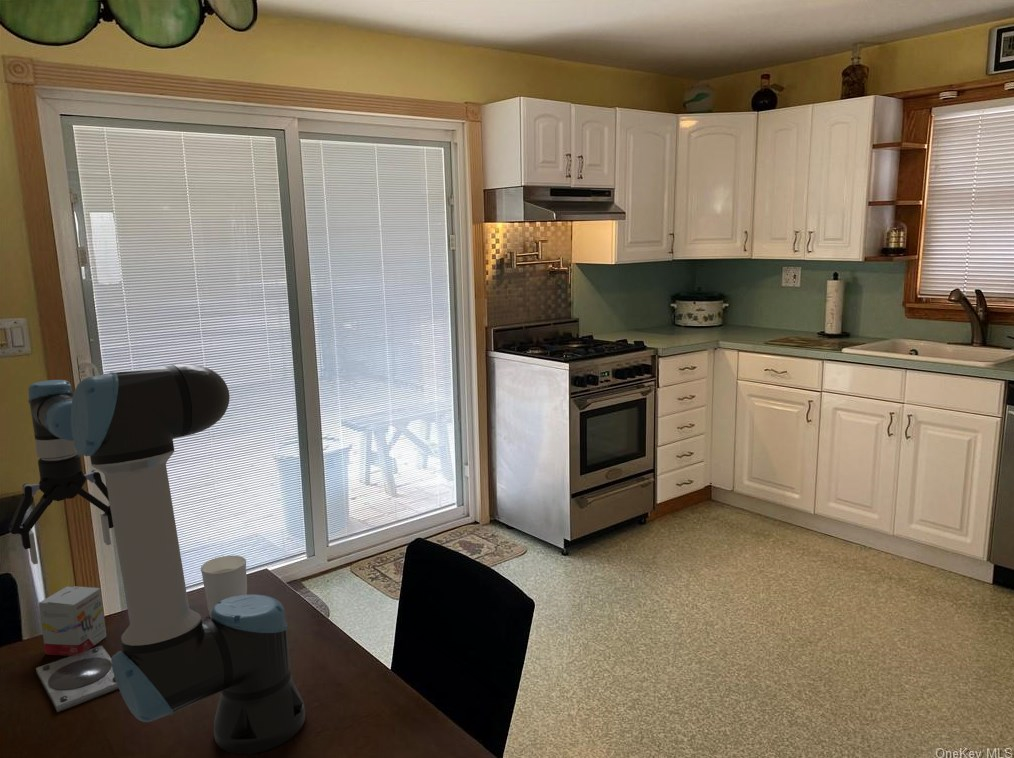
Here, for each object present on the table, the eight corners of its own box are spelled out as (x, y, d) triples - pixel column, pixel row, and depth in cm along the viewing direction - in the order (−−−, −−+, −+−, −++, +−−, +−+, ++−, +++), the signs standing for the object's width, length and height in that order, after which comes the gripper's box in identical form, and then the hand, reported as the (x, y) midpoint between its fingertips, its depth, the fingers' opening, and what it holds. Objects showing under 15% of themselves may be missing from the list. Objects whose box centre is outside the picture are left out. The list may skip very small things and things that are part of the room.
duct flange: (127, 685, 143) (126, 678, 143) (57, 712, 135) (56, 704, 135) (102, 650, 156) (101, 644, 156) (36, 673, 148) (35, 666, 148)
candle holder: (242, 598, 178) (237, 551, 176) (257, 612, 170) (252, 564, 168) (200, 612, 172) (194, 563, 170) (214, 627, 164) (208, 577, 162)
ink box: (80, 657, 154) (72, 604, 152) (44, 654, 155) (36, 602, 153) (108, 636, 162) (101, 585, 160) (73, 634, 164) (66, 584, 162)
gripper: (119, 440, 162) (130, 530, 166) (-18, 464, 145) (-2, 564, 150) (129, 447, 156) (140, 540, 161) (-12, 473, 140) (4, 576, 144)
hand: (72, 552), depth 155 cm, fingers open, 13 cm apart
